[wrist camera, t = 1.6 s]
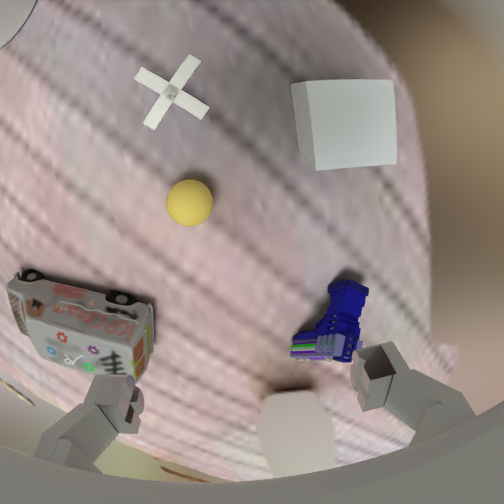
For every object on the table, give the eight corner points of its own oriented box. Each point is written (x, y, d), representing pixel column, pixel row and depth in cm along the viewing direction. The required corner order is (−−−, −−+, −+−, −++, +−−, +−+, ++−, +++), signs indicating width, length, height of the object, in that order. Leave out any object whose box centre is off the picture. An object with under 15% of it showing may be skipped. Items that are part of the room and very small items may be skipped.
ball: (167, 178, 33) (155, 193, 28) (210, 170, 32) (204, 183, 28) (177, 218, 35) (168, 237, 31) (218, 211, 35) (214, 230, 30)
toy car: (20, 264, 38) (-13, 301, 29) (157, 295, 41) (138, 347, 32) (33, 312, 43) (8, 350, 35) (157, 344, 46) (143, 394, 37)
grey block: (290, 84, 28) (306, 81, 20) (357, 80, 27) (392, 80, 20) (298, 150, 31) (315, 170, 24) (362, 144, 31) (397, 164, 23)
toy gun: (373, 288, 37) (360, 364, 33) (317, 305, 49) (304, 363, 45) (349, 277, 36) (334, 357, 32) (296, 296, 48) (281, 357, 44)
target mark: (117, 107, 28) (117, 107, 28) (161, 39, 25) (161, 38, 24) (182, 147, 31) (182, 147, 31) (231, 79, 27) (230, 79, 27)
